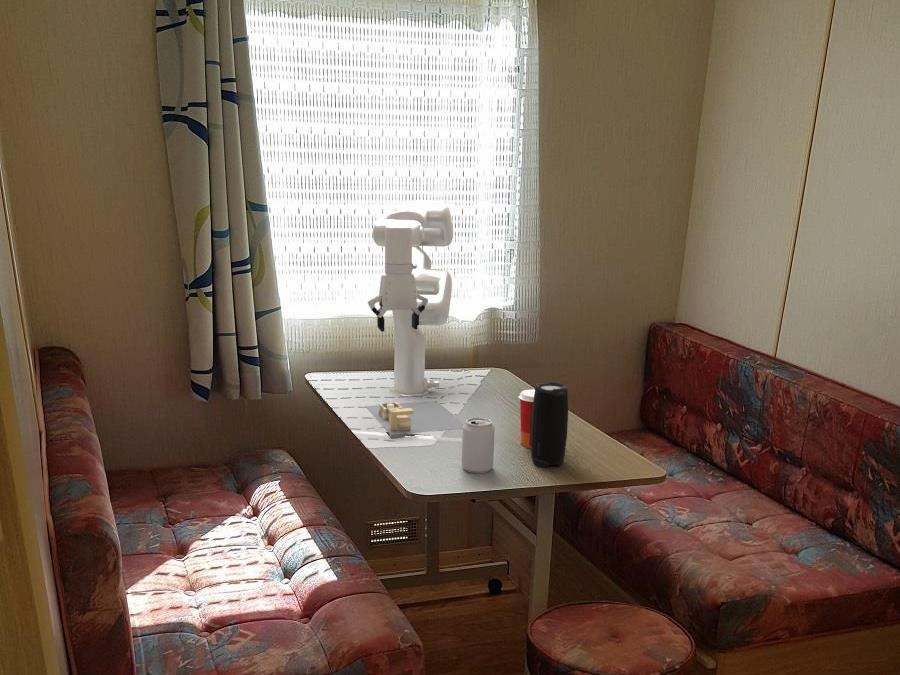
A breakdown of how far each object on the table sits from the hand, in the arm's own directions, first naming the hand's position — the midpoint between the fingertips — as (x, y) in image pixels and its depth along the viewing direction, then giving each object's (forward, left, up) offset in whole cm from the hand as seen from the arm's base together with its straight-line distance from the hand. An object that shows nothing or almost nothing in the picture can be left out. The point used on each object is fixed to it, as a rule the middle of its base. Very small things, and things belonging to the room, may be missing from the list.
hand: (398, 329), depth 228 cm
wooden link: (+3, +9, -24) cm, 26 cm away
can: (-6, +47, -25) cm, 53 cm away
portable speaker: (-24, +48, -25) cm, 59 cm away
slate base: (-3, +6, -25) cm, 26 cm away
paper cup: (-26, +35, -25) cm, 50 cm away
